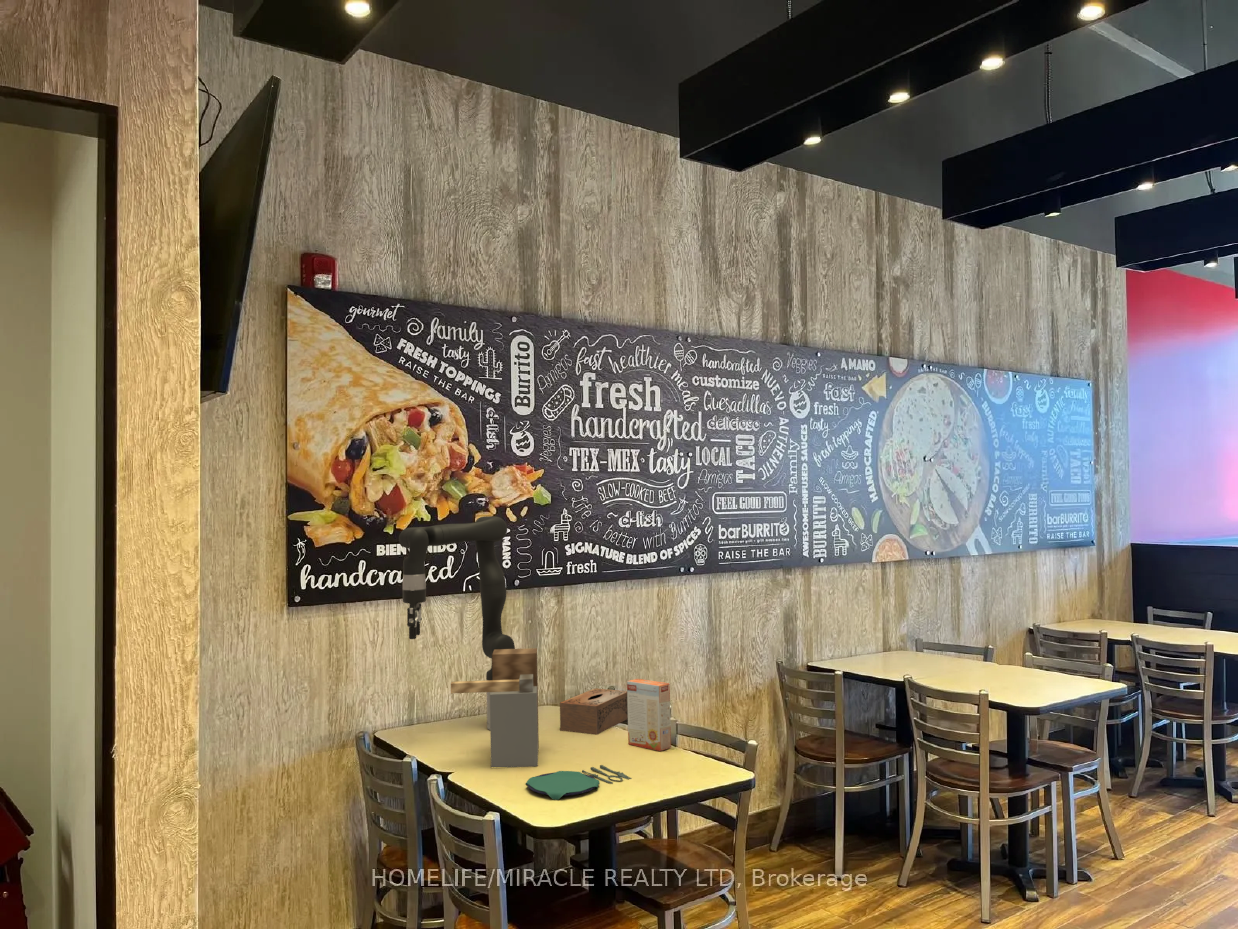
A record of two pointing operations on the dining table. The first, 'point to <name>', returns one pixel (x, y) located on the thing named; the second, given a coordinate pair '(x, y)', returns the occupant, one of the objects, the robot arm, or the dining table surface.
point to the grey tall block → (514, 729)
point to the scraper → (494, 685)
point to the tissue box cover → (593, 711)
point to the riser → (515, 665)
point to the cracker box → (649, 714)
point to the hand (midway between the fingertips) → (414, 637)
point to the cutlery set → (569, 782)
